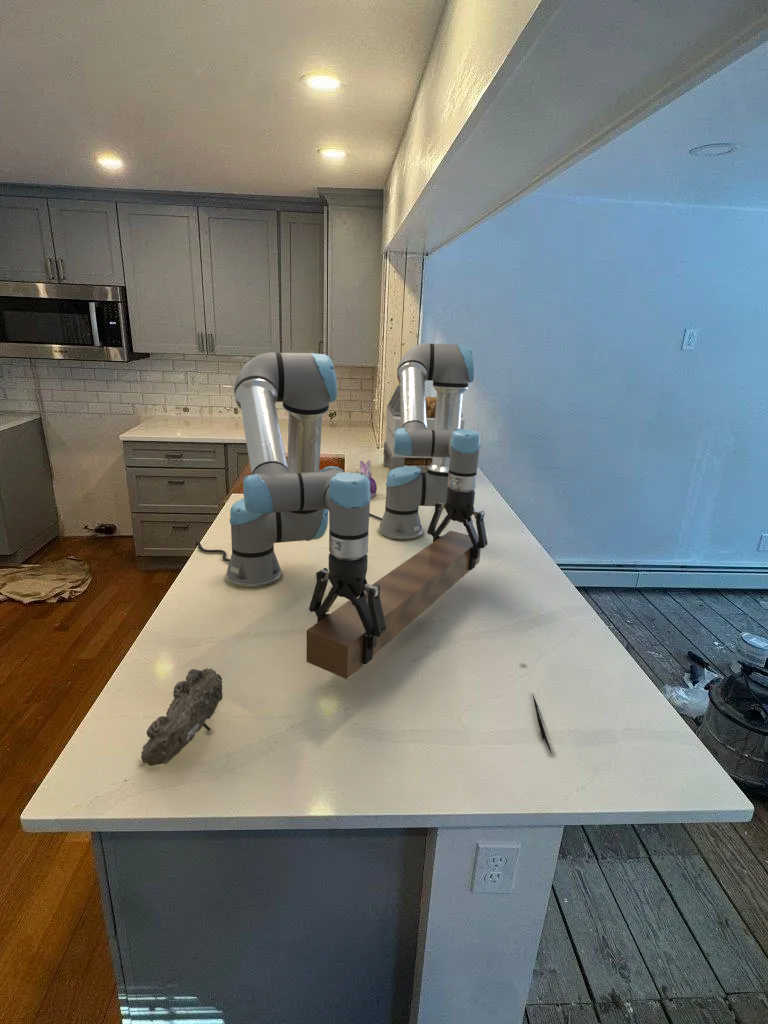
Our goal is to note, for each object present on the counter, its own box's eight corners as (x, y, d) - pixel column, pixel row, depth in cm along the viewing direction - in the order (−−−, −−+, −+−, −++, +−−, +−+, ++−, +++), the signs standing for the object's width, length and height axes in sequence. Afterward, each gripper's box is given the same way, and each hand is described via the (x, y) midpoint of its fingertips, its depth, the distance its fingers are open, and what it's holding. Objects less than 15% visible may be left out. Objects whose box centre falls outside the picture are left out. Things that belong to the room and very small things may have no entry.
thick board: (448, 553, 168) (450, 530, 165) (479, 562, 163) (482, 538, 161) (306, 662, 114) (306, 630, 111) (347, 679, 109) (348, 646, 107)
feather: (523, 669, 129) (529, 663, 128) (551, 758, 102) (558, 750, 101) (517, 665, 128) (523, 659, 128) (543, 753, 102) (550, 746, 101)
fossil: (171, 669, 114) (224, 637, 109) (205, 700, 117) (257, 670, 112) (115, 759, 95) (175, 724, 90) (157, 793, 97) (218, 762, 92)
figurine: (361, 500, 232) (362, 464, 227) (351, 492, 241) (352, 458, 236) (382, 497, 237) (383, 462, 232) (371, 490, 245) (372, 456, 240)
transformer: (382, 463, 289) (386, 382, 275) (445, 464, 293) (451, 384, 279) (390, 482, 257) (394, 392, 243) (460, 483, 261) (468, 394, 247)
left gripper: (290, 545, 112) (291, 642, 119) (388, 576, 101) (382, 680, 108) (314, 533, 118) (313, 627, 125) (408, 561, 107) (402, 661, 114)
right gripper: (417, 483, 155) (412, 557, 162) (495, 500, 144) (486, 579, 151) (430, 477, 161) (425, 549, 168) (506, 493, 150) (496, 569, 157)
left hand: (345, 652), depth 117 cm, fingers closed on thick board, 10 cm apart
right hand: (454, 563), depth 160 cm, fingers closed on thick board, 10 cm apart
